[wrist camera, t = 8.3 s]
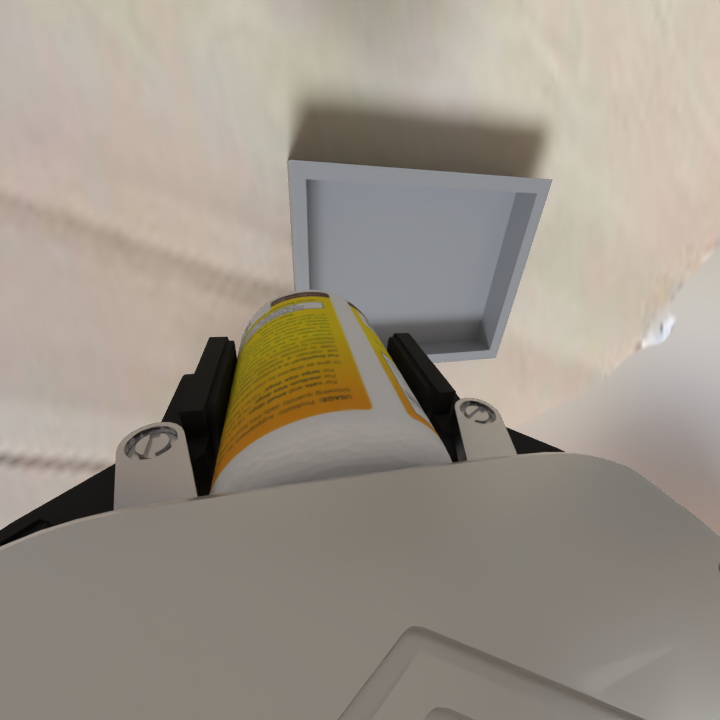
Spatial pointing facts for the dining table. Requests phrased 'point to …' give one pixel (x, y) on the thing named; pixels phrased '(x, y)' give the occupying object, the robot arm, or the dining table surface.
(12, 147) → the dining table surface
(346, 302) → the supplement bottle
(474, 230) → the tray
